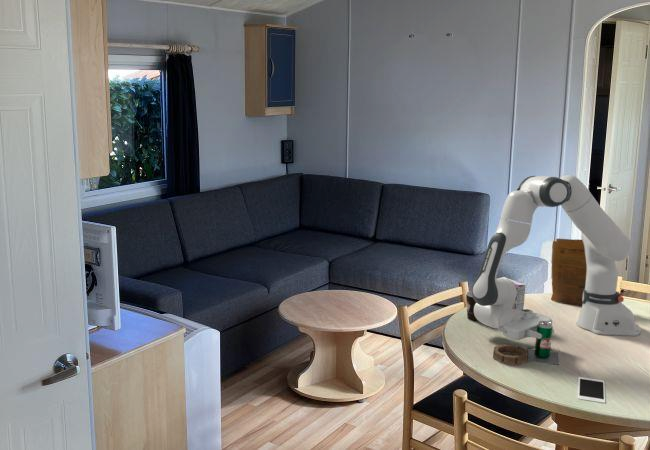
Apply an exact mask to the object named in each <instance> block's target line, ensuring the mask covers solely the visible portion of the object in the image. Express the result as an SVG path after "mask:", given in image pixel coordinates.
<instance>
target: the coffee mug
mask: <svg viewBox="0 0 650 450" xmlns="http://www.w3.org/2000/svg"><path fill="white" fill-rule="evenodd" d="M465 295H466V296H465V298H466V299H465V300H466V312H467V313H466V316H467V320H469V321H472V322H478V323H479V322H480V321H478V320H477V319H476V317H475V315H474V306H475V304H476V302H475V300H474V298H473V296H472V290H469V291H466V293H465ZM480 323H481V322H480Z"/></svg>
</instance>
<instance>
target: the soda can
mask: <svg viewBox="0 0 650 450" xmlns="http://www.w3.org/2000/svg"><path fill="white" fill-rule="evenodd" d="M553 329H554V327H553V322H552V323H551V322H548V321H539V323H538V325H537V332H540V333H543V338H541V339H538V338H535V344H534V350H535V353H534V354H535V355H536V357H538V358H543V359H545V358H548V357H549V356H550V351H551V348H552V347H551V346H552V338H553V334H552V330H553Z"/></svg>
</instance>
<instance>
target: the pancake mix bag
mask: <svg viewBox="0 0 650 450" xmlns="http://www.w3.org/2000/svg"><path fill="white" fill-rule="evenodd" d="M551 251H552V252H551V260H550V261H551V289H552V290H551V291H552V295H551V297H550V300H552V301H553V302H555V303H558V304H559V303H560V304H566V305H573V306H581V307H582V305H583V302H582V297H583V291H584V288H585V283H586V272H587V265H586V256H585V248H584V243H583V241H582V239H570V238H556V239H555V240H553V241H552V246H551Z"/></svg>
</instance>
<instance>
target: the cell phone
mask: <svg viewBox="0 0 650 450" xmlns="http://www.w3.org/2000/svg"><path fill="white" fill-rule="evenodd" d="M605 385H606V383H605V380H602V379H596V378H588V377H583V376H578V380H577V399H578V400H579V401H580V400H581V401H587V402H594V403H600V404H606V387H605Z"/></svg>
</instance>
